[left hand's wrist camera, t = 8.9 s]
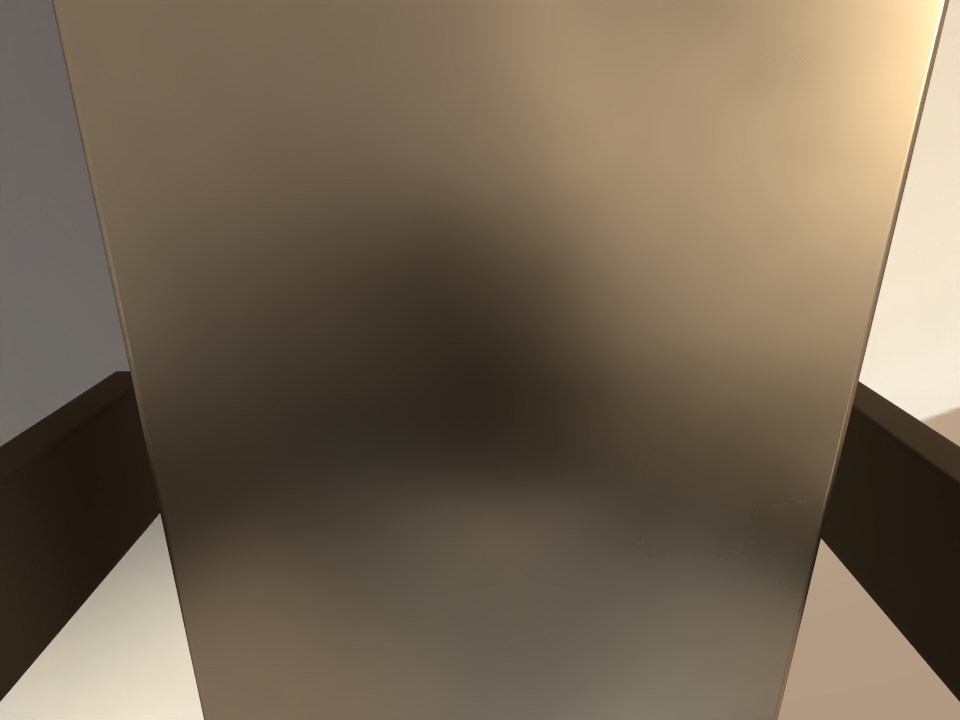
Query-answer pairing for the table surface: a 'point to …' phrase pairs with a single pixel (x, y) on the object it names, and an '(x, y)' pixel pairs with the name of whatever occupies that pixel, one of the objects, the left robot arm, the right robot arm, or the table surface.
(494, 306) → the box
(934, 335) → the table surface
